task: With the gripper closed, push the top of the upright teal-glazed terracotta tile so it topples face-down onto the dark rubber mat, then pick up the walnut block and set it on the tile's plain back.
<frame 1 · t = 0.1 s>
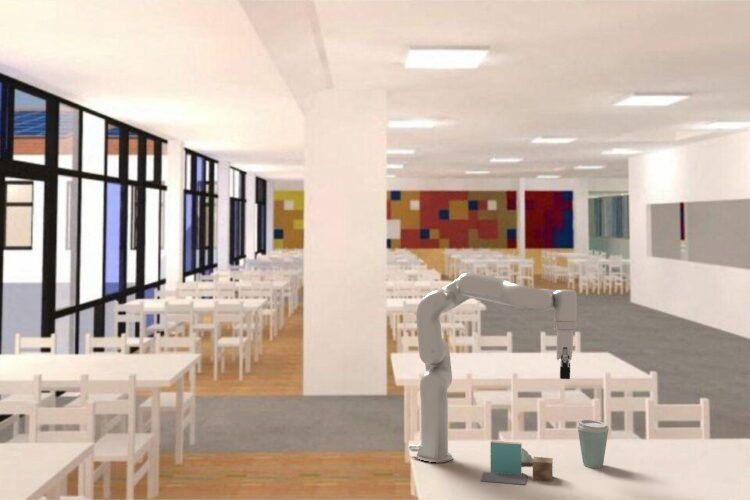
hand: (565, 376, 248), 31 cm above the table, tool pointing down, fingers open, 9 cm apart
walnut block: (542, 478, 237), on the table
mat: (504, 478, 236), on the table
stone slab: (516, 458, 262), on the table
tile: (506, 472, 243), on the table
disposable coffee cup: (592, 466, 251), on the table
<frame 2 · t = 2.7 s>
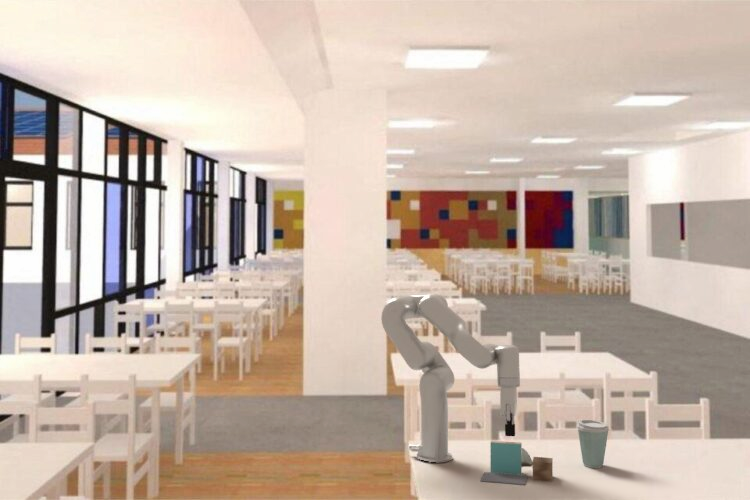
hand: (510, 435, 249), 11 cm above the table, tool pointing down, fingers closed
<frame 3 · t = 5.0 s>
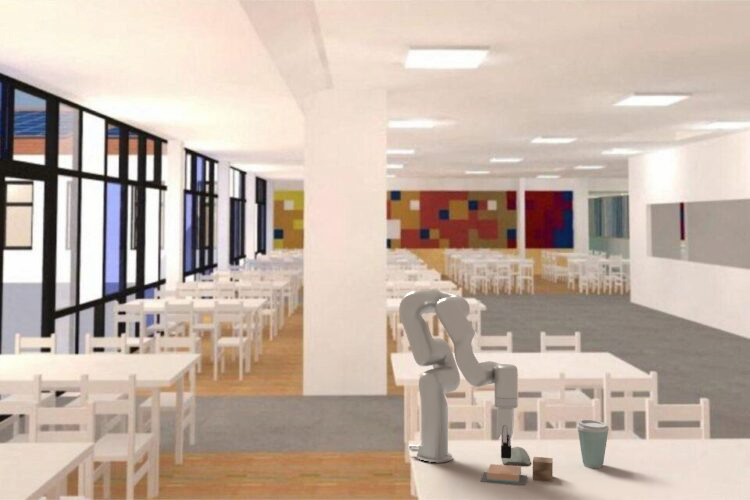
hand: (506, 457, 242), 5 cm above the table, tool pointing down, fingers closed
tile: (505, 468, 242), point 1 cm above the table, tilted 90°, touching mat
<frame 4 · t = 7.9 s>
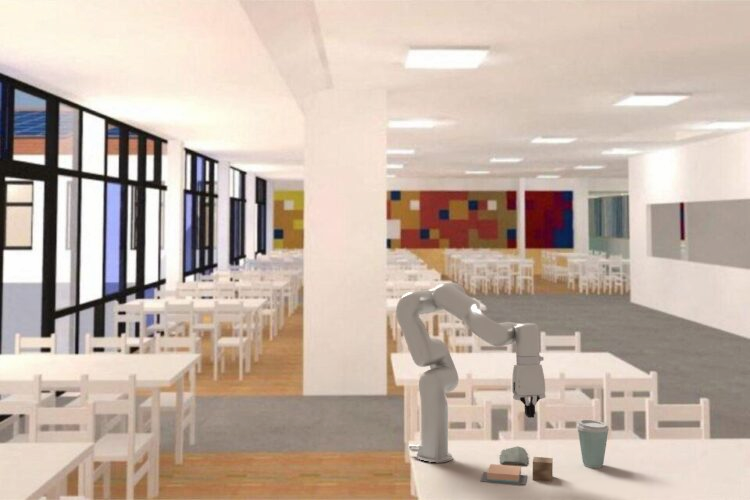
hand: (530, 416, 240), 19 cm above the table, tool pointing down, fingers closed
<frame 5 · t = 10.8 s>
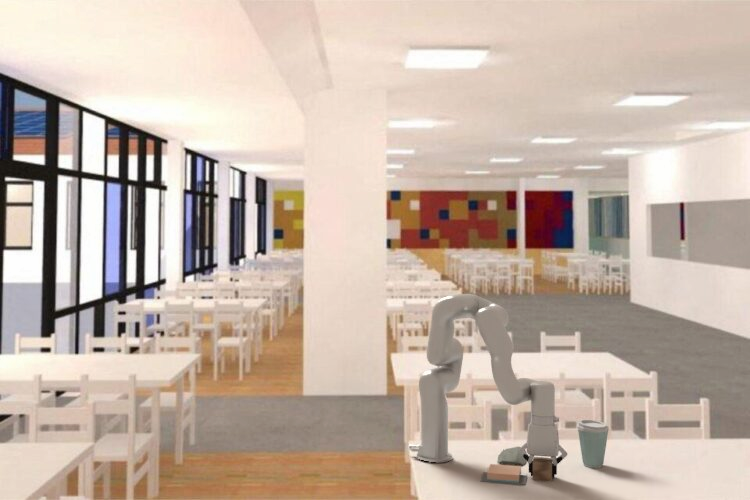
hand: (542, 475, 237), 1 cm above the table, tool pointing down, fingers closed on walnut block, 6 cm apart
walnut block: (542, 478, 237), on the table, touching gripper
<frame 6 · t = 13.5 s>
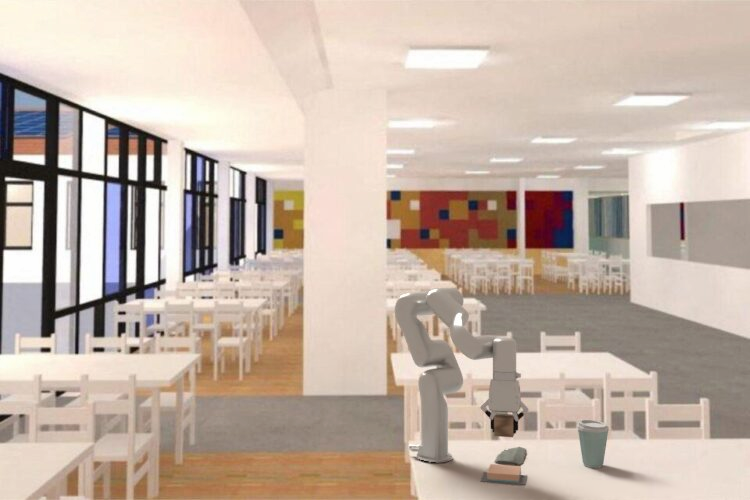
hand: (504, 431, 237), 15 cm above the table, tool pointing down, fingers closed on walnut block, 6 cm apart
walnut block: (504, 434, 237), point 14 cm above the table, touching gripper
when the fingers open (5 cm above the table, at t = 15.7 s): walnut block drops 1 cm, resting on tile.
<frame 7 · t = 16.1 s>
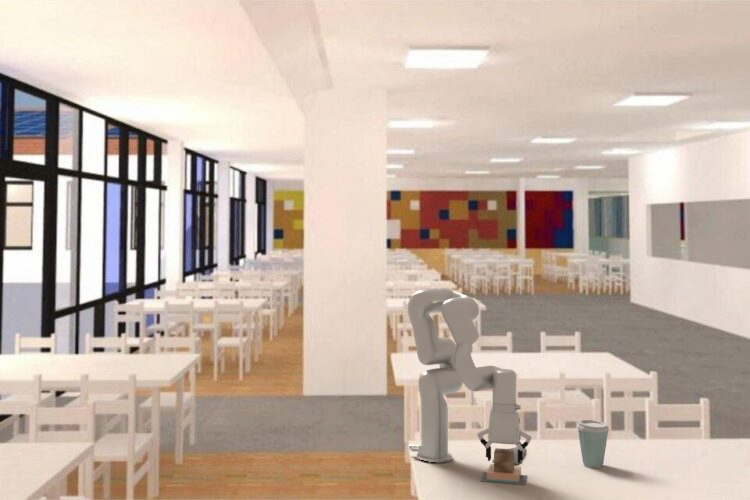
hand: (504, 460, 237), 6 cm above the table, tool pointing down, fingers open, 9 cm apart
walnut block: (504, 469, 237), point 3 cm above the table, touching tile
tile: (505, 468, 242), point 1 cm above the table, tilted 90°, touching mat, walnut block
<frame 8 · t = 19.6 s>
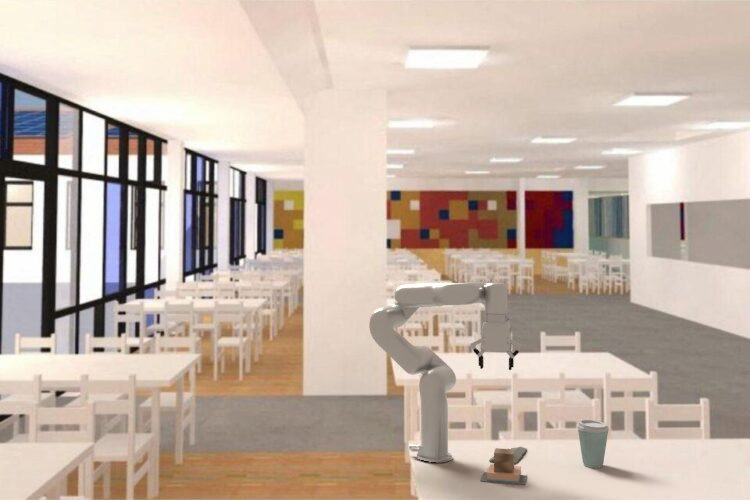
hand: (495, 368, 250), 33 cm above the table, tool pointing down, fingers open, 9 cm apart
at the end: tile tilted 90°; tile inside the target area (2.8 cm from its centre), point 1.5 cm above the table; walnut block touching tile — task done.
